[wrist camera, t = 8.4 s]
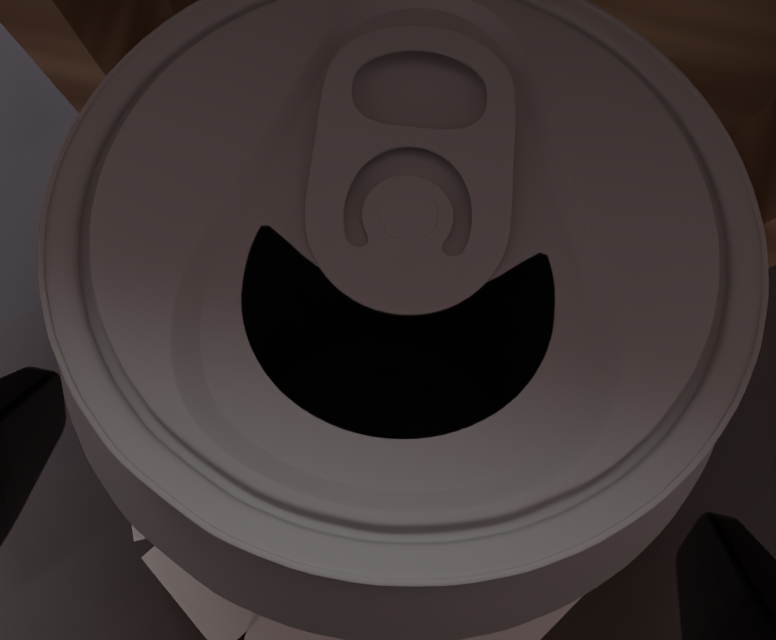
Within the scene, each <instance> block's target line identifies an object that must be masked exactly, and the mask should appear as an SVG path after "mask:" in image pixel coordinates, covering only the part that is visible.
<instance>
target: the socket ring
mask: <svg viewBox="0 0 776 640" xmlns="http://www.w3.org/2000/svg"><path fill="white" fill-rule="evenodd" d="M132 531H133V539H134V541H138V540H143V539H146V538H145V537H144V536H143V535H142V534H141V533H140V532H139V531H138V530H137V529H135V528H134V526H133V525H132ZM141 559H142V560H143V561H144V562H145V564H146V565H147V566H148V567H149V568H150V570H151V571H152V572H153V573H154V575H155V576H156V577H157V578H158V580H159V581H160V582H161V583H162V585H163V586H164V587H165V588H166V589H167V591H168V592H169V593H170V594H171V596H172V597H173V598H174V599H175V601H176V602H177V603H178V604H179V606H180V607H181V608H182V609H183V611H184V612H185V613H186V614H187V615H188V617H189V618H190V619H191V620H192V622H193V623H194V624H195V625H196V627H197V628H198V629H199V630H200V632H201V633H202V634H203V635H204V637H205V638H206V639H207V640H237V639H238V638H240V637H241V636H242V635H243V634H244V633H245V632H246V631H247V632H246V635H245V638H244V640H344V639H339V638H334V637H329V636H324V635H319V634H314V633H310V632H306V631H303V630H299V629H296V628H292V627H289V626H286V625H284V624H281V623H279V622H276V621H273V620H271V619H268V618H265V617H263V616H260V615H258V614H256V613H254V612H251V611H249V610H247V609H245V608H242V607H240V606H238V605H236V604H233V603H232V602H230V601H228V600H226V599H224V598H222V597H221V596H219V595H217V594H215V593H214V592H212V591H211V590H210V589H208V588H207V587H205V586H204V585H203V584H201V583H200V582H199V581H197V580H196V579H195V578H193V577H192V576H191V575H190V574H188V573H187V572H186V571H185V570H183V569H182V568H181V567H180V566H178V565H177V564H176V563H175V562H173V561H172V560H171V559H170V558H169V557H167V556H166V555H165V554H164V553H163V552H161V551H160V550H159V549H158V548H157V547H155V546H154V547H153V548H151V549H150V550H149V551H148V552H147V553H146V554H145V555H144V556H142V557H141ZM583 596H584V595H583ZM583 596H582V597H583ZM582 597H580V598H579V599H577V600H575V601H574V602H572V603H570V604H568V605H566V606H564V607H562V608H560V609H558V610H556V611H554V612H551V613H549V614H546V615H544V616H541V617H539V618H536V619H534V620H532V621H529V622H527V623H524V624H522V625H519V626H516V627H513V628H510V629H507V630H504V631H499V632H495V633H491V634H486V635H481V636H476V637H471V638H466V639H460V640H540V639H541V638H542V637H543V636H544V635H545V634H546V633H547V632H548V631H549V630H550V629H551V628H552V627H553V626H554V625H555V624H556V623H557V622H558V621H559V620H560V619H561V618H562V617H563V616H564V615H565V614H566V613H567V612H568V611H569V610H570V609H571V608H572V607H573V606H574V605H575V604H576V603H577V602H578V601H579V600H580V599H581V598H582Z"/></svg>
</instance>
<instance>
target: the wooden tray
mask: <svg viewBox="0 0 776 640" xmlns="http://www.w3.org/2000/svg"><path fill="white" fill-rule="evenodd" d="M197 1H199V0H0V22H1V23H2V25H3V26H4V27H5V28H6V29H7V30H8V32H9V33H10V34H11V35H12V36H13V37H14V38H15V40H16V41H17V42H18V43H19V44H20V45H21V47H22V48H23V49H24V50H25V51H26V52H27V53H28V55H29V56H30V57H31V58H32V59H33V60H34V62H35V63H36V64H37V65H38V66H39V67H40V69H41V70H42V71H43V72H44V73H45V74H46V75H47V77H48V78H49V79H50V80H51V81H52V82H53V84H54V85H55V86H56V87H57V88H58V89H59V90H60V92H61V93H62V94H63V95H64V96H65V97H66V99H67V100H68V101H69V102H70V103H71V104H72V106H73V107H74V108H75V109H76V110H77V111H78V112H79V113H80V112H81V110H82V109H83V107H84V106H85V104H86V102H87V101H88V99H89V98H90V96H91V95H92V94H93V92H94V91H95V90H96V88H97V87H98V86H99V85H100V83H101V82H102V81H103V79H104V78H105V77H106V76H107V74H108V73H109V72H110V71H111V70H112V69H113V68H114V67H115V66H116V65H117V64H118V62H119V61H120V60H121V59H122V58H123V57H124V56H125V55H126V54H127V53H128V52H129V51H130V50H132V49H133V48H134V47H135V46H136V45H137V44H138V43H139V42H140V41H141V40H142V39H143V38H145V37H146V36H147V35H149V34H150V33H151V32H152V31H154V30H155V29H156V28H157V27H159V26H160V25H161V24H163V23H164V22H165V21H167V20H168V19H170V18H171V17H173V16H174V15H176V14H177V13H179V12H180V11H182V10H183V9H185V8H186V7H188V6H190V5H191V4H193V3H195V2H197ZM588 1H590V2H592V3H593V4H595V5H597V6H599V7H601V8H602V9H604V10H606V11H607V12H609V13H610V14H612V15H613V16H615V17H616V18H618V19H620V20H621V21H623V22H624V23H626V24H627V25H628V26H630V27H631V28H632V29H634V30H635V31H636V32H638V33H639V34H640V35H642V36H643V37H644V38H646V39H647V40H648V41H649V42H650V43H652V44H653V45H654V46H655V47H656V48H657V49H659V50H660V51H661V52H662V53H663V54H664V55H665V56H666V57H668V58H669V59H670V60H671V61H672V62H673V63H674V64H675V65H676V66H677V67H678V68H679V69H680V70H681V71H682V72H683V73H684V75H685V76H686V77H687V78H688V79H689V80H690V82H691V83H692V84H693V85H694V86H695V87H696V88H697V90H698V91H699V92H700V93H701V94H702V96H703V97H704V98H705V100H706V101H707V103H708V104H709V105H710V107H711V108H712V109H713V111H714V112H715V113H716V115H717V116H718V118H719V120H720V121H721V123H722V124H723V126H724V128H725V129H726V131H727V133H728V134H729V136H730V137H731V139H732V141H733V143H734V145H735V147H736V149H737V151H738V153H739V155H740V157H741V159H742V161H743V164H744V166H745V169H746V171H747V174H748V176H749V179H750V181H751V184H752V186H753V190H754V193H755V196H756V200H757V203H758V206H759V210H760V213H761V218H762V222H763V226H764V231H765V236H766V242H767V254H768V269H769V268H771V267H773V266H776V0H588Z"/></svg>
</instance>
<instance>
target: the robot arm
mask: <svg viewBox="0 0 776 640" xmlns="http://www.w3.org/2000/svg"><path fill="white" fill-rule="evenodd" d="M65 423H66V410H65V402H64V394H63V388H62V382H61V377H60V376H59V374H58V373H56V372H54V371H50V370H45V369H41V368H36V367H25V368H23V369H20V370H18V371H15V372H13V373H11V374H9V375H6V376H4V377H2V378H0V546H1V545H2V543H3V542H4V540H5V538H6V537H7V535H8V534H9V532H10V531H11V529H12V527H13V526H14V524H15V522H16V520H17V518H18V517H19V515H20V513H21V511H22V509H23V507H24V505H25V504H26V502H27V500H28V498H29V496H30V494H31V492H32V490H33V488H34V486H35V484H36V483H37V481H38V479H39V477H40V475H41V473H42V471H43V469H44V467H45V465H46V463H47V462H48V460H49V458H50V456H51V454H52V452H53V450H54V448H55V446H56V444H57V442H58V441H59V439H60V437H61V435H62V433H63V430H64V427H65ZM676 577H677V589H678V601H679V613H680V625H681V637H682V640H776V559H775V558H774V557H773V556H772V555H771V554H770V553H769V552H768V551H767V550H766V549H765V548H764V547H763V546H762V545H761V543H760V542H759V541H758V540H757V539H756V538H755V537H754V536H753V535H752V534H751V533H750V532H749V531H748V530H747V529H746V528H745V527H744V526H743V524H742V523H740V522H739V521H738V520H737V519H735V518H733V517H730V516H725V515H720V514H716V513H711V512H706V513H704V514H702V515H700V517H699V518H698V519H697V521H696V522H695V524H694V525H693V527H692V528H691V530H690V532H689V533H688V535H687V536H686V538H685V539H684V541H683V542H682V544H681V545H680V547H679V549H678V552H677V555H676Z"/></svg>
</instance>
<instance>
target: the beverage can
mask: <svg viewBox="0 0 776 640" xmlns="http://www.w3.org/2000/svg"><path fill="white" fill-rule="evenodd" d="M38 281H39V292H40V298H41V303H42V309H43V315H44V321H45V325H46V330H47V334H48V338H49V341H50V344H51V347H52V350H53V352H54V355H55V357H56V360H57V362H58V365H59V371H60V377H61V382H62V388H63V393H64V397H65V402H66V406H67V409H68V412H69V415H70V418H71V421H72V423H73V426H74V428H75V431H76V433H77V436H78V438H79V441H80V443H81V446H82V448H83V451H84V453H85V455H86V457H87V459H88V462H89V464H90V465H91V467H92V469H93V470H94V472H95V474H96V475H97V477H98V479H99V480H100V482H101V483H102V485H103V486H104V488H105V489H106V491H107V492H108V494H109V495H110V497H111V498H112V500H113V501H114V503H115V504H116V506H117V507H118V508H119V510H120V511H121V512H122V514H123V515H124V516H125V518H126V519H127V520H128V521H129V522H130V523H131V524H132V525H133V526H134V528H135V529H137V530H138V531H139V532H140V533H141V534H142V535H143V536H144V537H145V538H146V539H147V540H148V541H150V542H151V543H152V544H153V545H154V546H155V547H157V548H158V549H159V550H160V551H161V552H163V553H164V554H165V555H166V556H167V557H169V558H170V559H171V560H172V561H173V562H175V563H176V564H177V565H178V566H180V567H181V568H182V569H183V570H185V571H186V572H187V573H188V574H190V575H191V576H192V577H193V578H195V579H196V580H197V581H199V582H200V583H201V584H203V585H204V586H205V587H207V588H208V589H210V590H211V591H212V592H214V593H215V594H217V595H219V596H221V597H222V598H224V599H226V600H228V601H230V602H232V603H233V604H236V605H238V606H240V607H242V608H245V609H247V610H249V611H251V612H254V613H256V614H258V615H260V616H263V617H265V618H268V619H271V620H273V621H276V622H279V623H281V624H284V625H286V626H289V627H292V628H296V629H299V630H303V631H306V632H310V633H314V634H319V635H324V636H329V637H334V638H339V639H344V640H460V639H466V638H471V637H476V636H481V635H486V634H491V633H495V632H499V631H504V630H507V629H510V628H513V627H516V626H519V625H522V624H524V623H527V622H529V621H532V620H534V619H536V618H539V617H541V616H544V615H546V614H549V613H551V612H554V611H556V610H558V609H560V608H562V607H564V606H566V605H568V604H570V603H572V602H574V601H575V600H577V599H579V598H580V597H582V596H583V595H585V594H587V593H588V592H590V591H591V590H593V589H595V588H596V587H598V586H599V585H601V584H602V583H604V582H605V581H606V580H608V579H609V578H611V577H612V576H614V575H615V574H616V573H618V572H619V571H621V570H622V569H623V568H624V567H626V566H627V565H628V564H629V563H630V562H631V561H633V560H634V559H635V558H636V557H637V556H638V555H639V554H640V553H641V552H642V551H643V550H644V549H645V548H646V547H647V546H648V545H649V544H650V543H651V542H652V541H653V540H654V539H655V538H656V537H657V536H658V535H659V534H660V533H661V532H662V530H663V529H664V528H665V527H666V526H667V524H668V523H669V522H670V521H671V520H672V519H673V517H674V516H675V514H676V513H677V511H678V510H679V508H680V507H681V506H682V504H683V503H684V501H685V500H686V498H687V497H688V495H689V494H690V492H691V490H692V489H693V487H694V485H695V484H696V482H697V480H698V479H699V477H700V476H701V474H702V472H703V470H704V468H705V466H706V464H707V462H708V459H709V457H710V455H711V452H712V450H713V447H714V445H715V443H716V441H717V440H718V438H719V437H720V435H721V434H722V433H723V431H724V429H725V428H726V426H727V424H728V423H729V421H730V419H731V418H732V416H733V415H734V413H735V411H736V410H737V408H738V406H739V403H740V401H741V399H742V397H743V395H744V393H745V391H746V388H747V385H748V383H749V380H750V378H751V375H752V372H753V370H754V367H755V364H756V361H757V358H758V355H759V352H760V348H761V343H762V339H763V333H764V327H765V320H766V313H767V307H768V297H769V273H768V254H767V242H766V236H765V231H764V226H763V222H762V218H761V213H760V210H759V206H758V203H757V200H756V196H755V193H754V190H753V186H752V184H751V181H750V179H749V176H748V174H747V171H746V169H745V166H744V164H743V161H742V159H741V157H740V155H739V153H738V151H737V149H736V147H735V145H734V143H733V141H732V139H731V137H730V136H729V134H728V133H727V131H726V129H725V128H724V126H723V124H722V123H721V121H720V120H719V118H718V116H717V115H716V113H715V112H714V111H713V109H712V108H711V107H710V105H709V104H708V103H707V101H706V100H705V98H704V97H703V96H702V94H701V93H700V92H699V91H698V90H697V88H696V87H695V86H694V85H693V84H692V83H691V82H690V80H689V79H688V78H687V77H686V76H685V75H684V73H683V72H682V71H681V70H680V69H679V68H678V67H677V66H676V65H675V64H674V63H673V62H672V61H671V60H670V59H669V58H668V57H666V56H665V55H664V54H663V53H662V52H661V51H660V50H659V49H657V48H656V47H655V46H654V45H653V44H652V43H650V42H649V41H648V40H647V39H646V38H644V37H643V36H642V35H640V34H639V33H638V32H636V31H635V30H634V29H632V28H631V27H630V26H628V25H627V24H626V23H624V22H623V21H621V20H620V19H618V18H616V17H615V16H613V15H612V14H610V13H609V12H607V11H606V10H604V9H602V8H601V7H599V6H597V5H595V4H593V3H592V2H590V1H588V0H199V1H197V2H195V3H193V4H191V5H190V6H188V7H186V8H185V9H183V10H182V11H180V12H179V13H177V14H176V15H174V16H173V17H171V18H170V19H168V20H167V21H165V22H164V23H163V24H161V25H160V26H159V27H157V28H156V29H155V30H154V31H152V32H151V33H150V34H149V35H147V36H146V37H145V38H143V39H142V40H141V41H140V42H139V43H138V44H137V45H136V46H135V47H134V48H133V49H132V50H130V51H129V52H128V53H127V54H126V55H125V56H124V57H123V58H122V59H121V60H120V61H119V62H118V64H117V65H116V66H115V67H114V68H113V69H112V70H111V71H110V72H109V73H108V74H107V76H106V77H105V78H104V79H103V81H102V82H101V83H100V85H99V86H98V87H97V88H96V90H95V91H94V92H93V94H92V95H91V96H90V98H89V99H88V101H87V102H86V104H85V106H84V107H83V109H82V110H81V112H80V113H79V115H78V116H77V118H76V120H75V122H74V124H73V126H72V127H71V129H70V131H69V133H68V135H67V137H66V139H65V141H64V143H63V145H62V148H61V150H60V152H59V154H58V157H57V159H56V161H55V164H54V167H53V170H52V173H51V176H50V179H49V183H48V187H47V191H46V195H45V199H44V203H43V207H42V213H41V219H40V228H39V243H38Z"/></svg>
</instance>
